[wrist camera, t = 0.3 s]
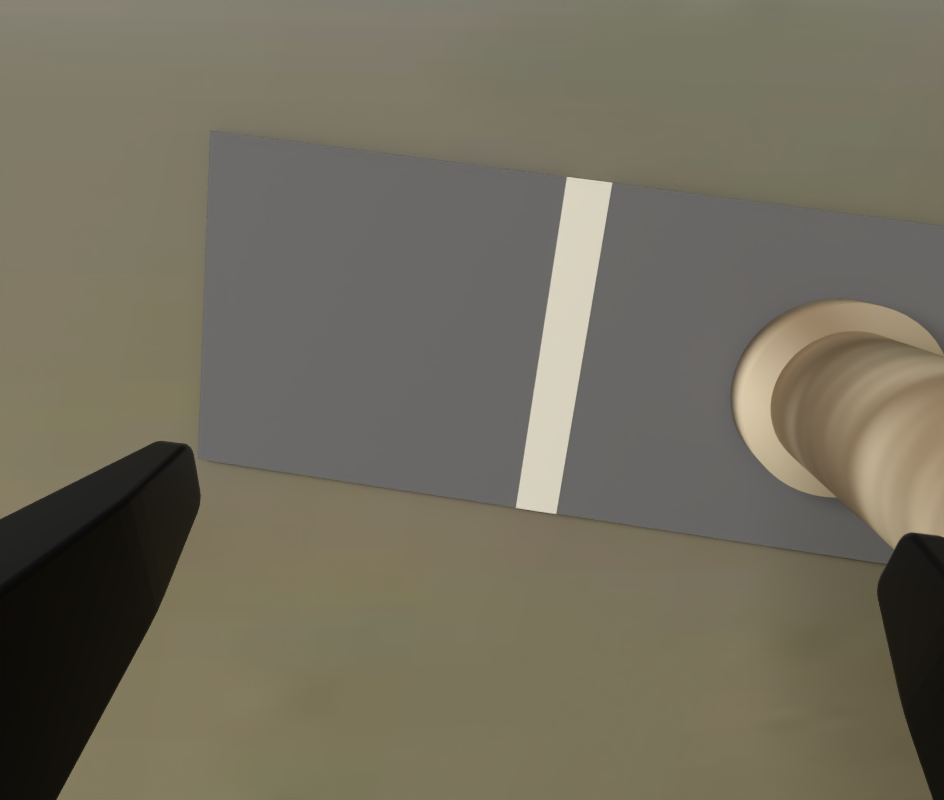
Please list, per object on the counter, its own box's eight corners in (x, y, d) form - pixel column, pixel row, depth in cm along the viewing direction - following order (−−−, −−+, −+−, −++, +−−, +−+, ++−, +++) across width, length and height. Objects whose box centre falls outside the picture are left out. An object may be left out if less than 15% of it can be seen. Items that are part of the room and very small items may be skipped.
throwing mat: (983, 231, 22) (989, 232, 22) (885, 560, 25) (890, 564, 25) (214, 131, 23) (209, 130, 23) (201, 456, 26) (197, 459, 26)
